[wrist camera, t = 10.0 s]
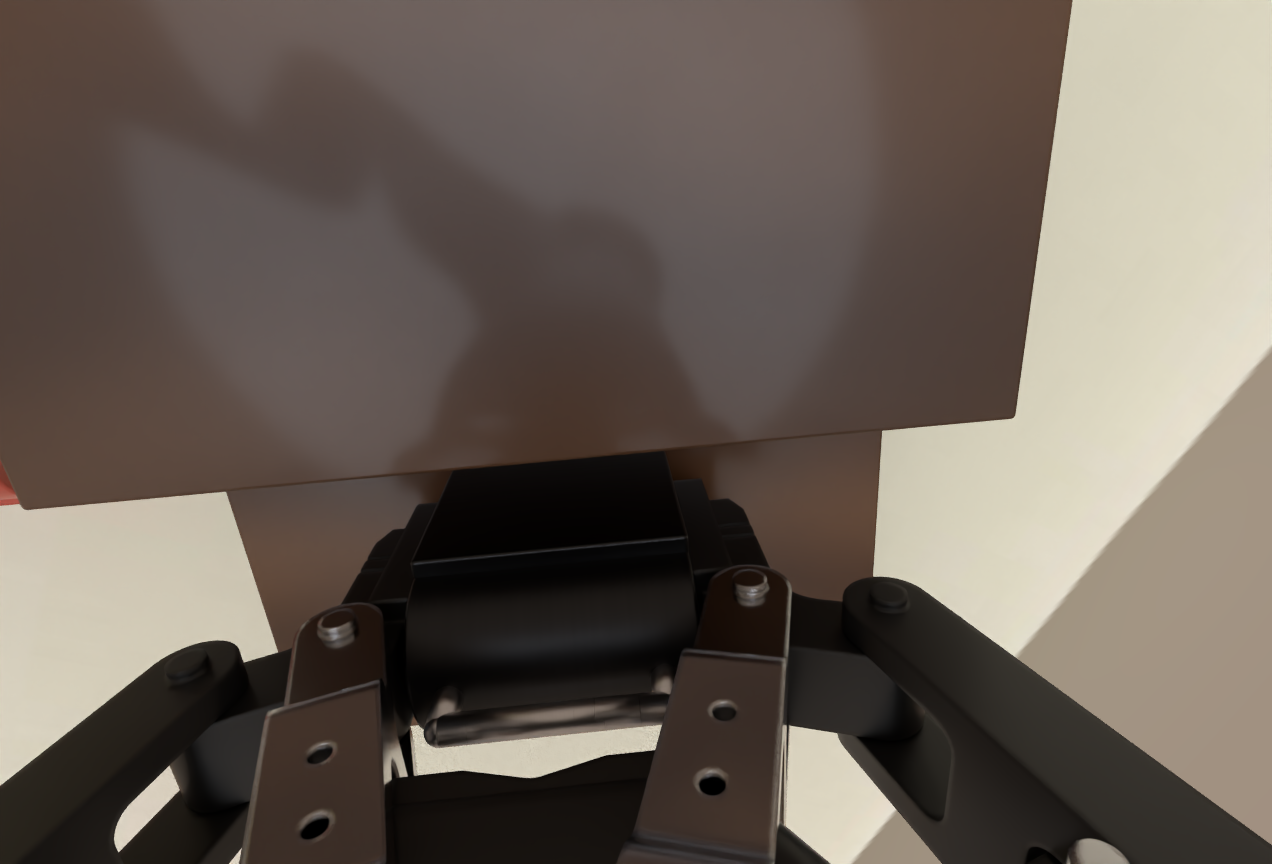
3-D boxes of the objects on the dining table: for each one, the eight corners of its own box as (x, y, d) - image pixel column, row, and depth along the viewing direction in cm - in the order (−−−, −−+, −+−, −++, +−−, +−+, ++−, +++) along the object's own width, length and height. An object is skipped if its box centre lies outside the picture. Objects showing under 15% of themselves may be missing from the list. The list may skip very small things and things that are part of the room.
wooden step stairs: (272, 89, 18) (-228, -38, 7) (791, 50, 19) (1092, -124, 8) (411, 666, 25) (270, 1063, 14) (786, 628, 26) (938, 983, 14)
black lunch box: (451, 467, 14) (367, 651, 9) (665, 448, 14) (711, 617, 9) (476, 599, 15) (415, 832, 10) (673, 580, 15) (717, 798, 10)
